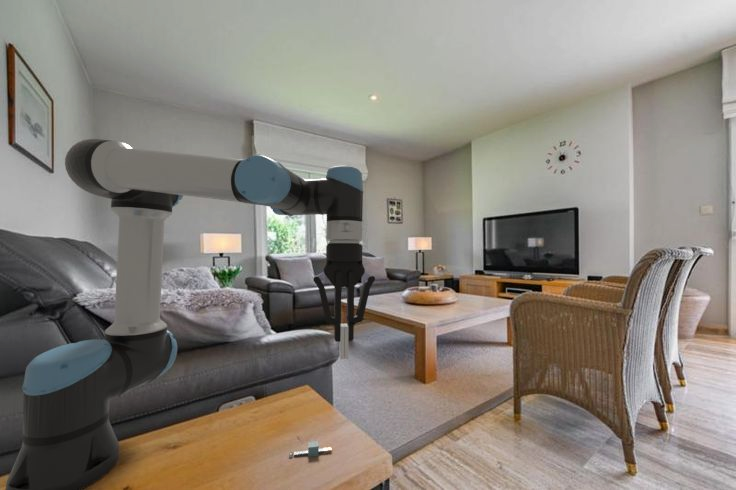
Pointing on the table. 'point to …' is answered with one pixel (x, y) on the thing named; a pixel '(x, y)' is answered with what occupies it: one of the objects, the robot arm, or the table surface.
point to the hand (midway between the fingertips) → (343, 356)
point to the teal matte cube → (313, 448)
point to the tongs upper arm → (304, 453)
